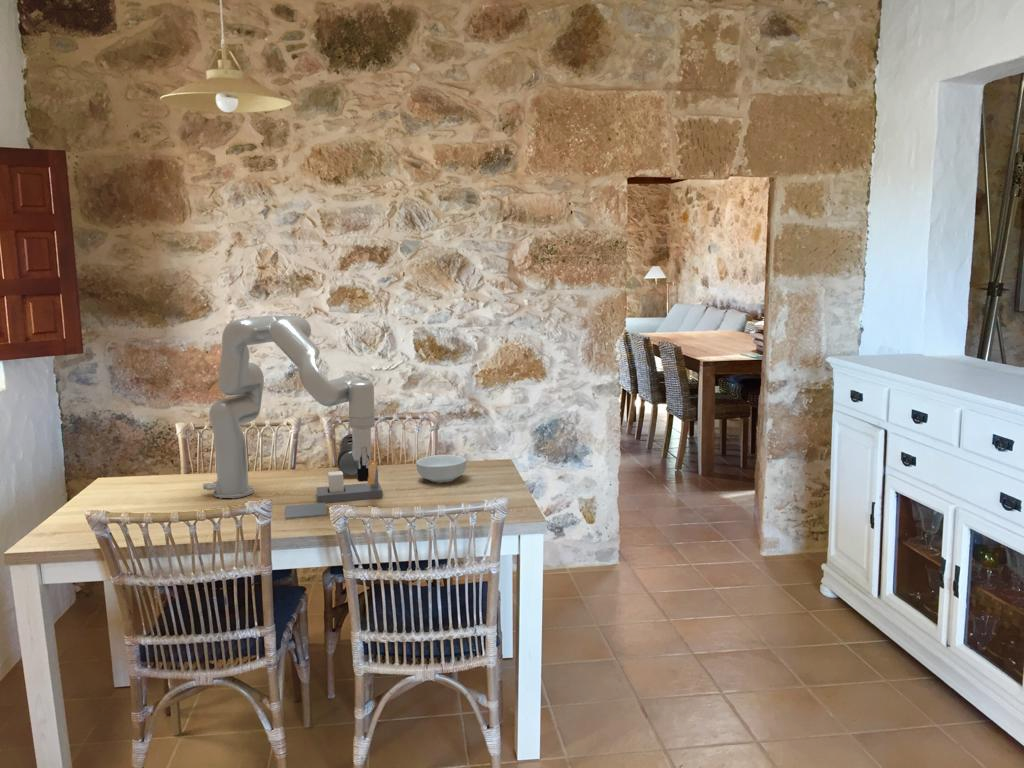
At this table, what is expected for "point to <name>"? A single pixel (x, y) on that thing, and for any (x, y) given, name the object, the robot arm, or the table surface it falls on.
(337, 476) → the plug
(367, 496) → the socket block
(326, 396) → the robot arm
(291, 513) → the mat
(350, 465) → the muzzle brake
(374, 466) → the orange wooden bar
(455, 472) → the cereal bowl
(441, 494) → the table surface
